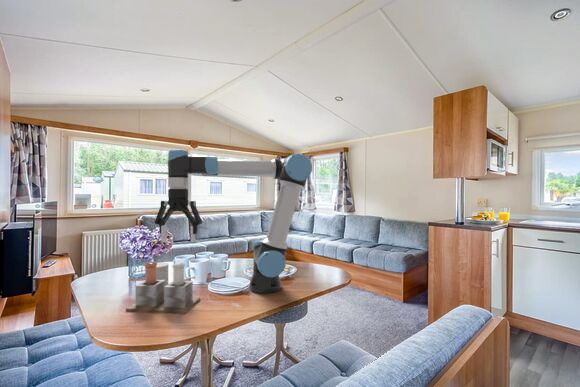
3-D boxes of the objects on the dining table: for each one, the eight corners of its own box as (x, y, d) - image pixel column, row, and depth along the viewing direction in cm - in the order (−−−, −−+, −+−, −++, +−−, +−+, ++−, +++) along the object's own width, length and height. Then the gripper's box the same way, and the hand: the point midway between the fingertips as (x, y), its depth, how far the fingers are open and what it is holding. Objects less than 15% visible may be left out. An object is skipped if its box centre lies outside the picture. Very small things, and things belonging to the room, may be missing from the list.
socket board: (200, 299, 123) (200, 279, 123) (184, 314, 109) (184, 290, 109) (147, 297, 126) (147, 277, 126) (126, 311, 112) (125, 288, 112)
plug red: (159, 285, 120) (159, 262, 120) (153, 289, 116) (152, 265, 115) (149, 285, 121) (148, 261, 120) (142, 289, 116) (142, 264, 116)
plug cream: (186, 287, 119) (186, 263, 119) (181, 291, 114) (181, 266, 114) (176, 286, 119) (176, 262, 119) (170, 290, 115) (170, 265, 115)
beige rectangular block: (161, 294, 130) (161, 267, 130) (145, 292, 132) (145, 266, 131) (172, 288, 138) (171, 263, 138) (157, 286, 140) (156, 262, 139)
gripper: (210, 188, 119) (210, 240, 119) (155, 188, 121) (155, 239, 122) (202, 188, 111) (203, 244, 112) (144, 188, 114) (145, 242, 114)
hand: (178, 241), depth 117 cm, fingers open, 12 cm apart
